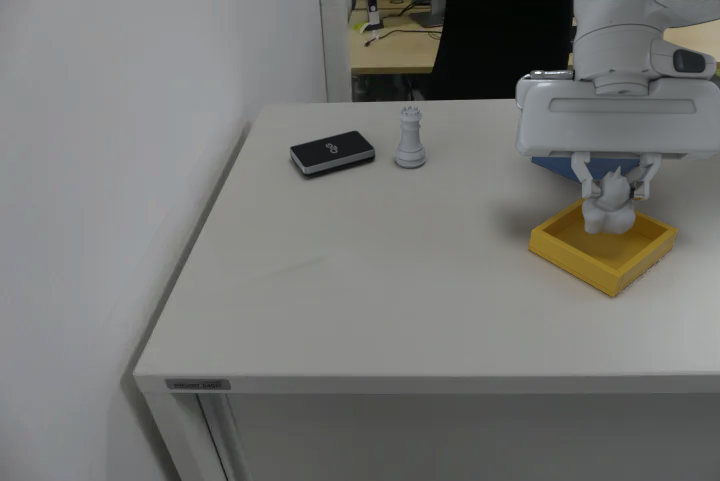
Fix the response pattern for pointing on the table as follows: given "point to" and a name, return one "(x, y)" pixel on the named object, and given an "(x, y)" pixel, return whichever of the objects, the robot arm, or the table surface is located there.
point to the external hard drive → (332, 153)
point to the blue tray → (595, 166)
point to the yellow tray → (602, 248)
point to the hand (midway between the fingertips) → (615, 198)
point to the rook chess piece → (410, 139)
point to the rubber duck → (610, 207)
